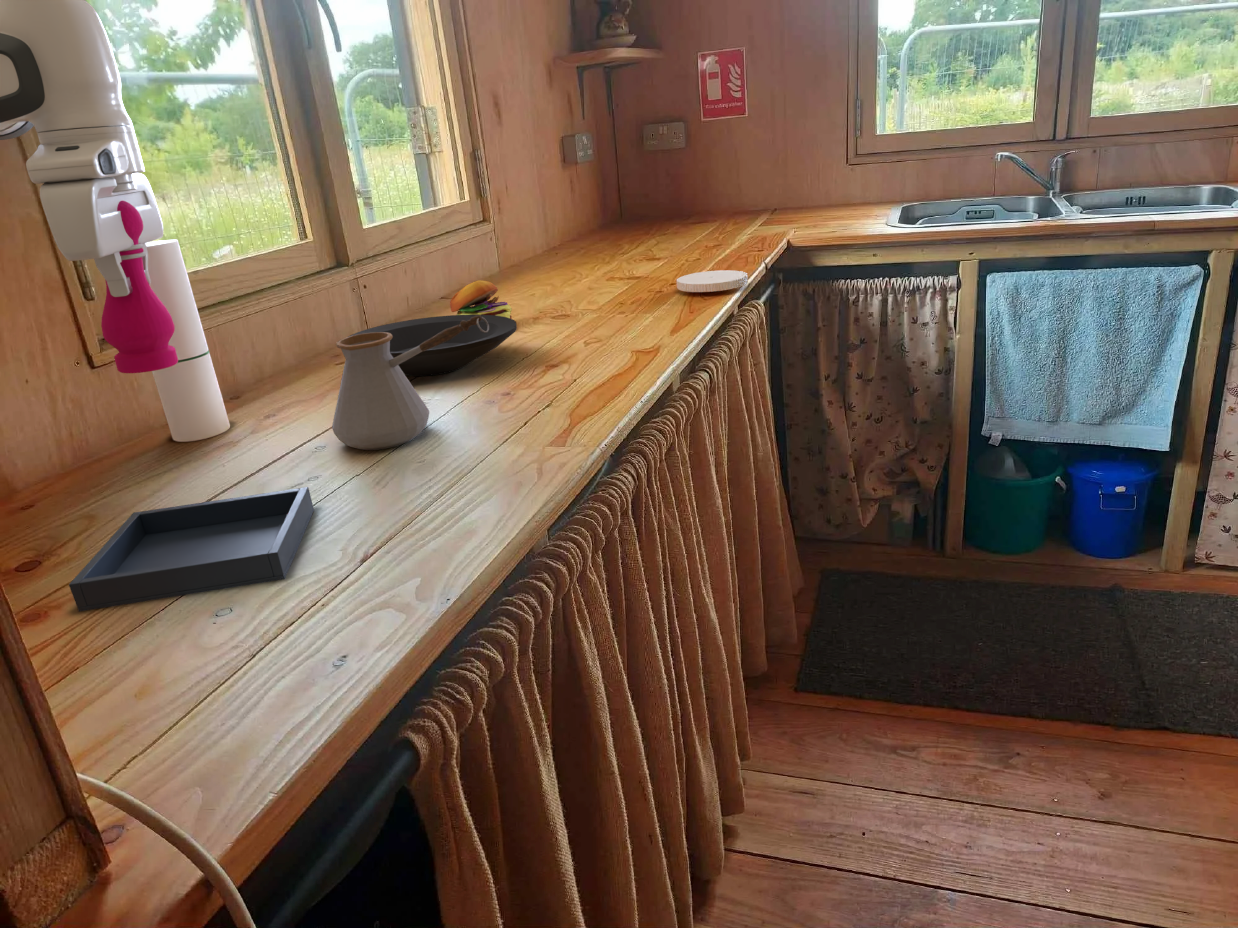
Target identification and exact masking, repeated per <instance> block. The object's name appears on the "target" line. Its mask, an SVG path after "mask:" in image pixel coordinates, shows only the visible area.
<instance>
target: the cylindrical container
mask: <svg viewBox="0 0 1238 928" xmlns="http://www.w3.org/2000/svg"><path fill="white" fill-rule="evenodd" d="M145 244H146V247H147V251H148V273H149V276H150V280H151V284H150V287H151V289H152V290H153V291H154V293H155V294H156V296H157V297H158V298H159V299H160V301H161V302H162V303H163V304H164V306H165V307H166V308H167V310H168V312H169V313H170V315H171V317H172V320H173V323H174V326H175V330H174V333H173V335H172V337H171V339H170V340H169V343H168V345H170V346H173V347H175V349H176V354H177V358H178V362H177V364H175V365H173V366H171V367H168V368H164V369H160V370H155V371H151V373H152V377H153V380H154V383H155V386H156V389H157V392H158V396H159V399H160V403H161V405H162V409H163V412H164V415H165V419H166V422H167V425H168V429H169V431H170V435H171V439H172V441H175V442H181V443H183V442H186V443H187V442H195V441H200V440H205V439H208V438H213V437H215V436H218V435H221V434H223V433H225V432H226V431H228V430H229V429H230V428H231V423H230V421H229V417H228V413H227V410H226V406H225V403H224V399H223V395H222V391H221V389H220V385H219V382H218V378H217V375H216V371H215V367H214V364H213V360H212V357H211V354H210V350H209V346H208V343H207V339H206V334H205V330H204V328H203V325H202V320H201V317H200V313H199V310H198V306H197V303H196V300H195V296H194V293H193V289H192V285H191V282H190V279H189V275H188V270H187V267H186V263H185V261H184V257H183V252H182V250H181V247H180V243H179V239H163V240H153V241H150V242H147V243H145Z"/></svg>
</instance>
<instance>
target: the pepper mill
mask: <svg viewBox="0 0 1238 928" xmlns="http://www.w3.org/2000/svg"><path fill="white" fill-rule="evenodd" d="M117 211H120V212H121V219H122V223H123V226H124V229H125V231H126V233H127V235H128V236H129V237H130V238H131V239H132V240H133V243H134V245H132V246H131V247H130V248H129V249H126V250H123V251H120V252H119V253H120V257H121V260H122V262H121V263H120V264H121V267H122V269H123V271H124V273H125V276H126V277H129V278H130V282H131V286H132V289H133V291H132V293H130V294H128V295H127V296H121V297H114V296H112V295H111V293H110V290H109V287H108V284H107V281H106V280H105V279H104V281H105V287H106V288H105V289H106V290H105V291H106V295H105V301H104V305H103V310H102V314H101V322H100V323H101V332H102V337H103V339H104V341H105V342H107V344H109V345H110V346H111V347H113V348H114V349H115V350H117V351H118V352H117V353H116V354H115V355H114V357H113V358H114V362H115V366H116V369H117V371H118V372H119V373H121V374H140V373H142V374H143V373H150V372H152V371H155V370H160V369H164V368H168V367H171V366H173V365H175V364H177V362H178V358H177V354H176V349H175V347H173V346H170V345H168V343H169V340H170V339H171V337H172V335H173V333H174V330H175V326H174V323H173V320H172V317H171V315H170V313H169V312H168V310H167V308H166V307H165V306H164V304H163V303H162V302H161V301H160V299H159V298H158V297H157V296H156V294H155V293H154V291H153V290H152V289H151V287H150V285H149V283H148V281H147V279H146V275H145V272H144V268H143V260H142V257H143V256H145V255H146V254H145V252H143V251H144V250H143V244H142V243H138V240H139V237H140V235H141V233H142V231H143V221H142V218H141V216H140V214H139V212H138V211H137V209H136V208H135V207H134V206H133V205H131V204H130V203H128V202H126V201H120V202H119V204H118V207H117Z"/></svg>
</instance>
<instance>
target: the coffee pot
mask: <svg viewBox="0 0 1238 928" xmlns="http://www.w3.org/2000/svg"><path fill="white" fill-rule="evenodd" d="M482 319H484V321H485V322H486V324H487V331H484V330H482V329H481V327H480V326H479V323H478V322H480V321H481V320H482ZM476 324H477V325H478V328H479V329H480V330H481V331H482V332H488V330H489V324H488V322H487V321H486V319H485V318H483V317H482V316H481V315H478V316H474V317H471V318H470V320H468V321H464V320H462V321H461V322H460V324H459V325H456V326H453V327H451V328H447V329H445V330H443V331H441V332H440V333H438V334H437V335H435V336H433V337H432V338H430V339H428V340H427V341H425V342H423V343H422V344H420V345H419V346H417V347H415V348H413V349H411V350H409V351H407V352H405V353H403V354H401V355H399V356H397V357H395V358H393V357H392V355H391V354H390V340H391V339H392V337H393V336H392V334H391V333H387V332H374V333H365V334H359V335H354V336H350V335H349V336H350V337H348V336H347V338H346V337H344V338H341V339H339V340H338V341H336V343H335V345H336V347H337V348H338V349H340V350H341V352H342V355H343V356H344V359H345V361H344V365H343V370H342V376H341V381H340V386H339V390H338V395H337V399H336V400H337V401H336V405H335V410H334V415H333V420H332V425H331V429H332V431H333V435H334V436H335V438H337V439H338V440H339V441H340V442H342V443H343V444H345V445H346V446H348V447H350V448H355V449H357V450H362V451H380V450H385V449H390V448H395V447H398V446H401V445H404V444H406V443H409V442H410V441H412V440H414V439H415V438H416V437H417V436H419V435H420V434H421V433H422V432H423V431H424V429H425V428H426V426H427V424H428V421H429V418H430V410H429V408H428V407H427V405H426V404H425V402H424V401H423V399H422V398H421V396H420V395H419V393H418V392H417V390H416V389H415V387H414V385H412V383H411V382H410V379H408V377H407V375H406V374H404V373H403V371H402V370H401V368H400V367H399V364H401V363H402V362H404V361H406V360H408V359H410V358H411V357H413V356H415V355H417V354H419V353H420V352H422V351H426V350H428V349H430V348H432V347H435V346H437V345H439V344H441V343H444V342H446V341H448V340H450V339H452V338H453V337H454V336H456V335H457V334H459V333H460V332H461V331H463V330H464V331H467V330H468V329H469V327H470V326H472V325H476Z"/></svg>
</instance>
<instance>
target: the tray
mask: <svg viewBox="0 0 1238 928" xmlns="http://www.w3.org/2000/svg"><path fill="white" fill-rule="evenodd" d="M314 511H315V508H314V504H313V500H312V497H311V492H310V488H309V486H304V487H298V488H290V489H284V490H277V491H270V492H263V493H257V494H249V495H243V496H237V497H229V498H223V499H216V500H210V501H203V502H197V503H190V504H182V505H176V506H170V507H163V508H162V507H161V508H155V509H149V510H142V511H135V512H132V513H131V514H130V516H129V517H128V518H127V519H126V520H125V521H124V522H123V524H122V525H120V527H119V528H117V530H116V531H115V533H113V535H112V536H111V537H110V538H109V539H108V540H107V541H106V542H105V543H104V544H103V546H102V547H101V548H100V549H99V550H98V551H97V552H96V553H95V555H94V556H93V557H92V558H91V559H90V561H88V563H86V564H85V565H84V567H83V568H82V569H81V570H80V571H79V573H77V574H76V576H75V577H74V578H73V579H72V580H71V581H70V582H69V584H68V587H69V589H70V592H71V594H72V597H73V600H74V602H75V605H76V608H77V610H78V612H85V611H92V610H99V609H105V608H111V607H118V606H124V605H129V604H130V605H131V604H136V603H142V602H149V601H154V600H161V599H168V598H174V597H179V596H188V595H193V594H194V595H195V594H199V593H205V592H211V591H217V590H224V589H225V590H226V589H230V588H231V589H232V588H236V587H245V586H250V585H257V584H263V583H270V582H276V581H282V580H285V579H286V578H287V575H288V573H289V570H290V568H291V566H292V563H293V561H294V558H295V556H296V554H297V551H298V549H299V547H300V544H301V542H302V540H303V537H304V535H305V533H306V530H307V528H308V526H309V523H310V521H311V518H312V516H313V513H314Z"/></svg>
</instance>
